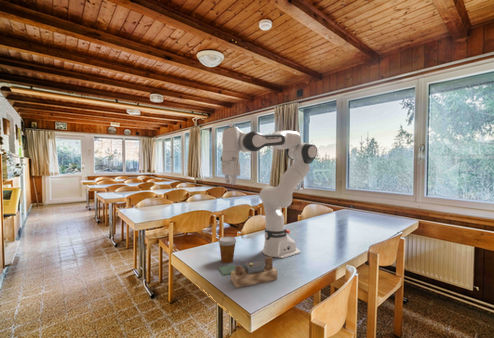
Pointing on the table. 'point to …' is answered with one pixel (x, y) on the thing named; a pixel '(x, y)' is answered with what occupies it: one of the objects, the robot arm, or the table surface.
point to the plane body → (253, 275)
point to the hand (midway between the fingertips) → (230, 183)
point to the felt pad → (226, 269)
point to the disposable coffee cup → (227, 249)
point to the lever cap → (254, 267)
